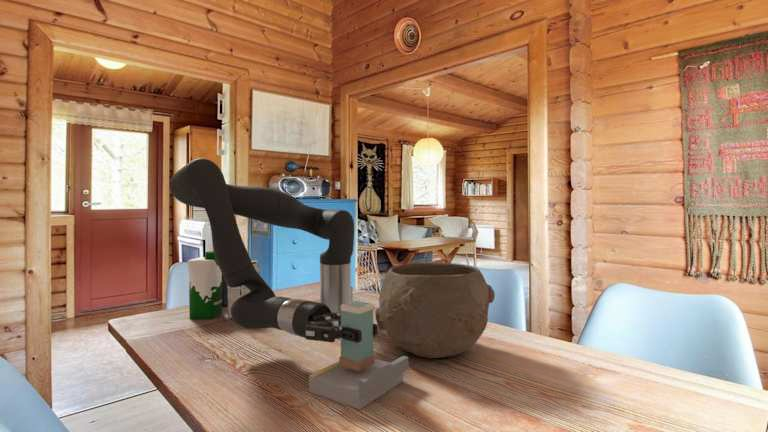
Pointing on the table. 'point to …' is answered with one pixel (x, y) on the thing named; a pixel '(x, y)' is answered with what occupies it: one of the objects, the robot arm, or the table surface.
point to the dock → (358, 381)
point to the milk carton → (205, 287)
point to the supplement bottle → (224, 293)
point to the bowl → (434, 307)
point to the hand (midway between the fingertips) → (368, 333)
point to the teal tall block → (362, 319)
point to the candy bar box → (238, 292)
